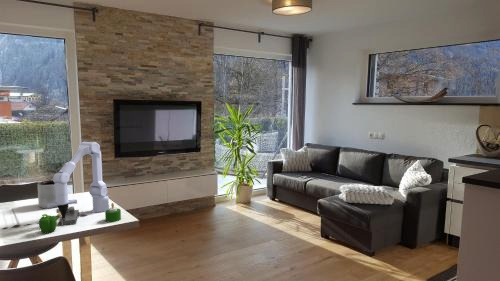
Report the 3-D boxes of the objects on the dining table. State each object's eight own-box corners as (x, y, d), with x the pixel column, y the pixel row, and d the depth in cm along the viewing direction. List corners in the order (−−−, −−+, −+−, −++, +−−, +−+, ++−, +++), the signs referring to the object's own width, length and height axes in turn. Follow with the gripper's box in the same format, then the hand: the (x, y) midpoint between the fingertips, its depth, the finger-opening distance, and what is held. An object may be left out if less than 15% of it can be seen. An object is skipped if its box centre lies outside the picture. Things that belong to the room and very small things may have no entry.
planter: (35, 209, 230) (33, 185, 228) (43, 202, 246) (41, 180, 244) (63, 207, 234) (61, 184, 232) (69, 201, 249) (67, 178, 248)
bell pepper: (54, 227, 197) (52, 209, 196) (59, 231, 191) (58, 213, 190) (36, 232, 191) (35, 213, 190) (42, 235, 185) (40, 216, 184)
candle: (123, 218, 213) (123, 201, 212) (115, 222, 205) (115, 205, 204) (111, 217, 215) (110, 200, 214) (102, 221, 207) (101, 204, 206)
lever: (74, 211, 216) (73, 207, 216) (56, 213, 213) (56, 209, 213) (74, 210, 219) (74, 206, 219) (57, 211, 216) (56, 208, 216)
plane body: (66, 214, 219) (65, 210, 219) (78, 213, 222) (78, 209, 221) (61, 225, 201) (61, 221, 200) (76, 223, 203) (75, 219, 203)
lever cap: (62, 213, 207) (59, 211, 207) (59, 217, 201) (55, 215, 200) (55, 221, 207) (51, 219, 206) (51, 225, 200) (48, 223, 200)
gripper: (74, 190, 210) (76, 213, 212) (46, 194, 202) (47, 218, 203) (77, 193, 204) (78, 216, 206) (47, 197, 196) (49, 221, 197)
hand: (63, 217), depth 204 cm, fingers closed
